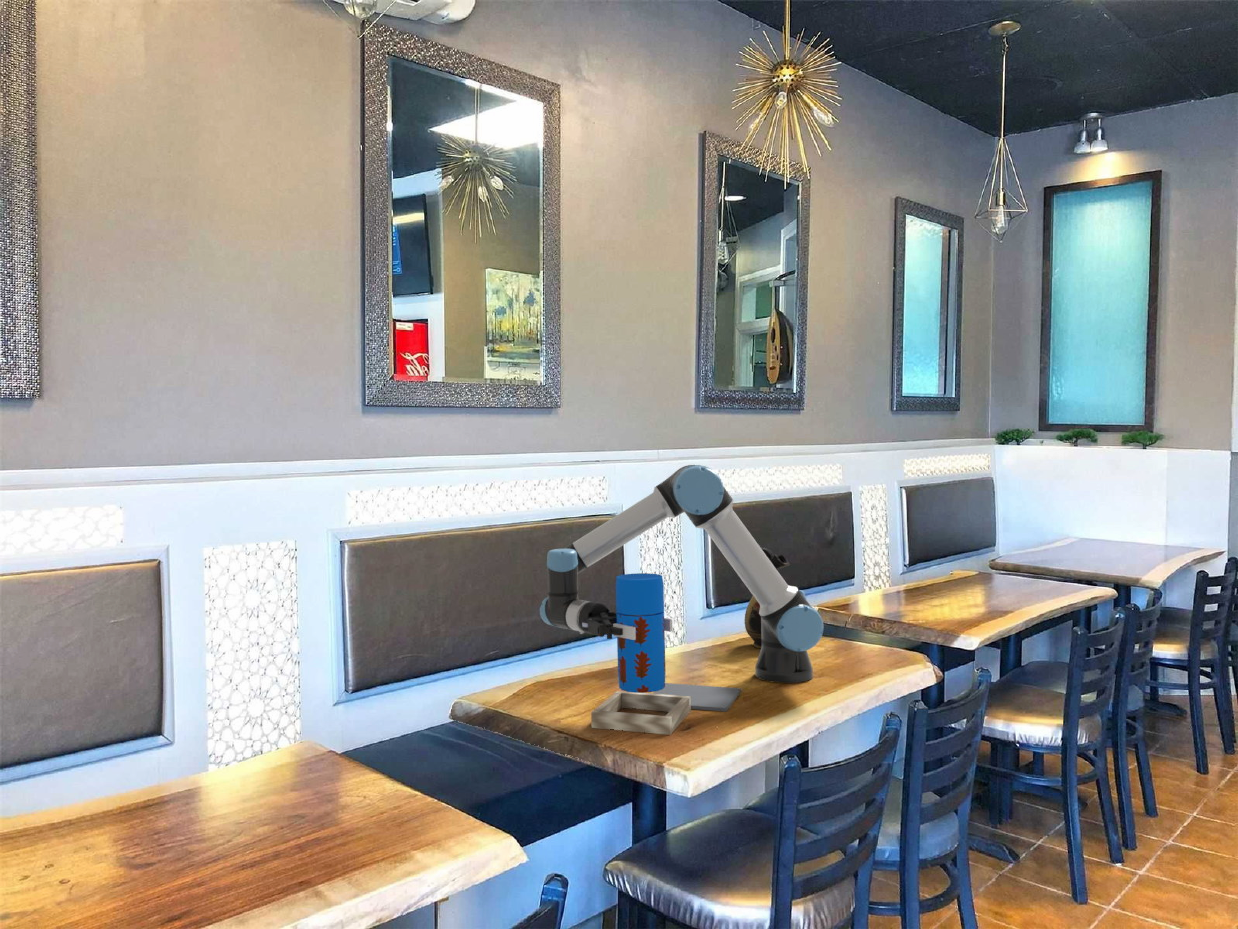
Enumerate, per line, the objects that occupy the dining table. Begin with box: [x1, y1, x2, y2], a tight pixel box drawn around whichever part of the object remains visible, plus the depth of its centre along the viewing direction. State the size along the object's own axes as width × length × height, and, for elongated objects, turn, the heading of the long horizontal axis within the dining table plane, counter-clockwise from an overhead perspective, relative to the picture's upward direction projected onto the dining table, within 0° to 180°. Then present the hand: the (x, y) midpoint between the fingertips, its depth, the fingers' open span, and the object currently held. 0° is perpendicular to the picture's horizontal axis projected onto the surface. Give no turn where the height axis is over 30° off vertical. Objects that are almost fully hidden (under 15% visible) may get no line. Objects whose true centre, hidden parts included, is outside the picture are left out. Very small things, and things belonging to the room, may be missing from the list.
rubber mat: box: [652, 682, 742, 712], centre depth 225 cm, size 20×18×1 cm
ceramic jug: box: [744, 547, 790, 649], centre depth 281 cm, size 17×15×30 cm
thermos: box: [615, 572, 666, 693], centre depth 208 cm, size 11×11×25 cm
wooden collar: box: [590, 690, 692, 736], centre depth 208 cm, size 18×18×4 cm
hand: (653, 629), depth 205 cm, fingers closed on thermos, 11 cm apart
